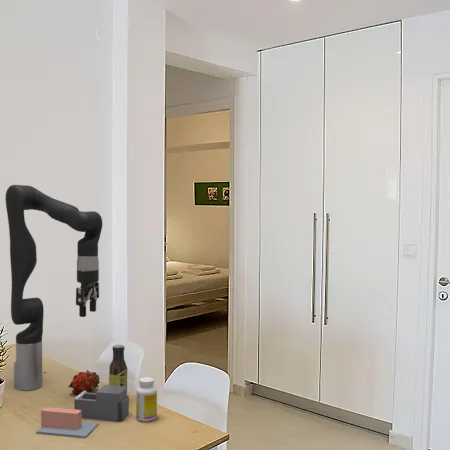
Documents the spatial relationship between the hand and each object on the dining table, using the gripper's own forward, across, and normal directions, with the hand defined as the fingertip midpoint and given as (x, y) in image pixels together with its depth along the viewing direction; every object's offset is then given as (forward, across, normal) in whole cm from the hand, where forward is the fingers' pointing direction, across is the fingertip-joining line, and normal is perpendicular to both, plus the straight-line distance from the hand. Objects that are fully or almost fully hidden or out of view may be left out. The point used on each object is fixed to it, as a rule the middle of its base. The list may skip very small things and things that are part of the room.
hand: (87, 314), depth 200 cm
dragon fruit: (+30, -5, -4) cm, 31 cm away
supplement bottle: (+30, +13, +26) cm, 42 cm away
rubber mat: (+30, +26, +5) cm, 40 cm away
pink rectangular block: (+30, +26, +3) cm, 39 cm away
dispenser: (+30, +14, +11) cm, 35 cm away
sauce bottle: (+30, +2, +12) cm, 33 cm away
